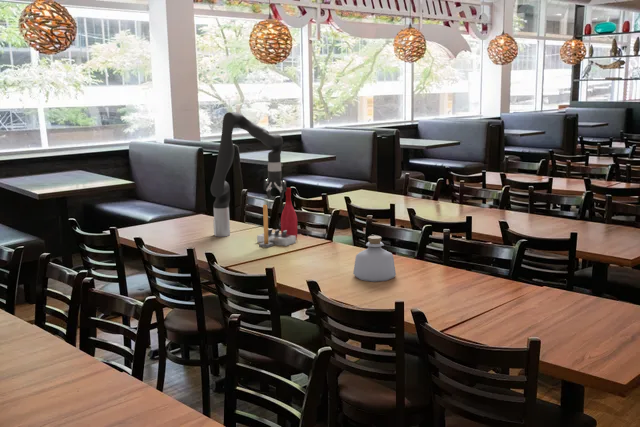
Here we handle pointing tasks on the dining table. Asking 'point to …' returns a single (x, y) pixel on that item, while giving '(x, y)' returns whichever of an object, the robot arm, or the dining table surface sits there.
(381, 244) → the bottle
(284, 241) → the breaker panel
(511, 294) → the dining table surface
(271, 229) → the paddle
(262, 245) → the orange post
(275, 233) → the middle paddle
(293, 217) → the wine bottle
